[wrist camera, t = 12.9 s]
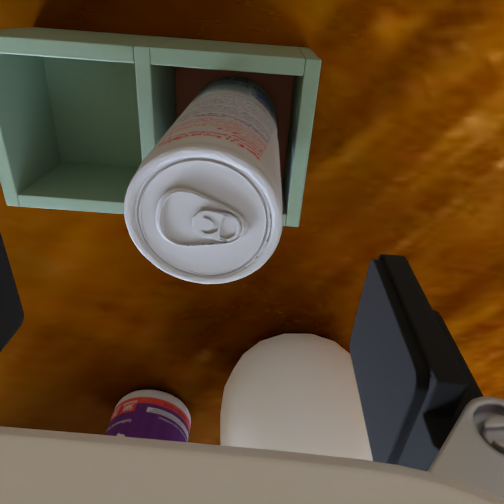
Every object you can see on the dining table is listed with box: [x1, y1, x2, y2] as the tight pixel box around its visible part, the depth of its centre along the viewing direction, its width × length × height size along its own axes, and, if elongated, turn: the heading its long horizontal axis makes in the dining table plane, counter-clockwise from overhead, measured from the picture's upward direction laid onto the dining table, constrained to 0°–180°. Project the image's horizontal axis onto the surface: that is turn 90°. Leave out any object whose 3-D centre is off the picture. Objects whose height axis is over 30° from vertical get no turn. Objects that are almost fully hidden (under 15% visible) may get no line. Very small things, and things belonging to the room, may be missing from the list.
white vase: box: [220, 334, 373, 461], centre depth 34 cm, size 13×13×14 cm
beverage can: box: [124, 76, 283, 284], centre depth 21 cm, size 6×6×15 cm
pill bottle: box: [105, 390, 191, 442], centre depth 38 cm, size 8×8×14 cm
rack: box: [0, 27, 322, 227], centre depth 25 cm, size 17×9×7 cm, turn 86°
